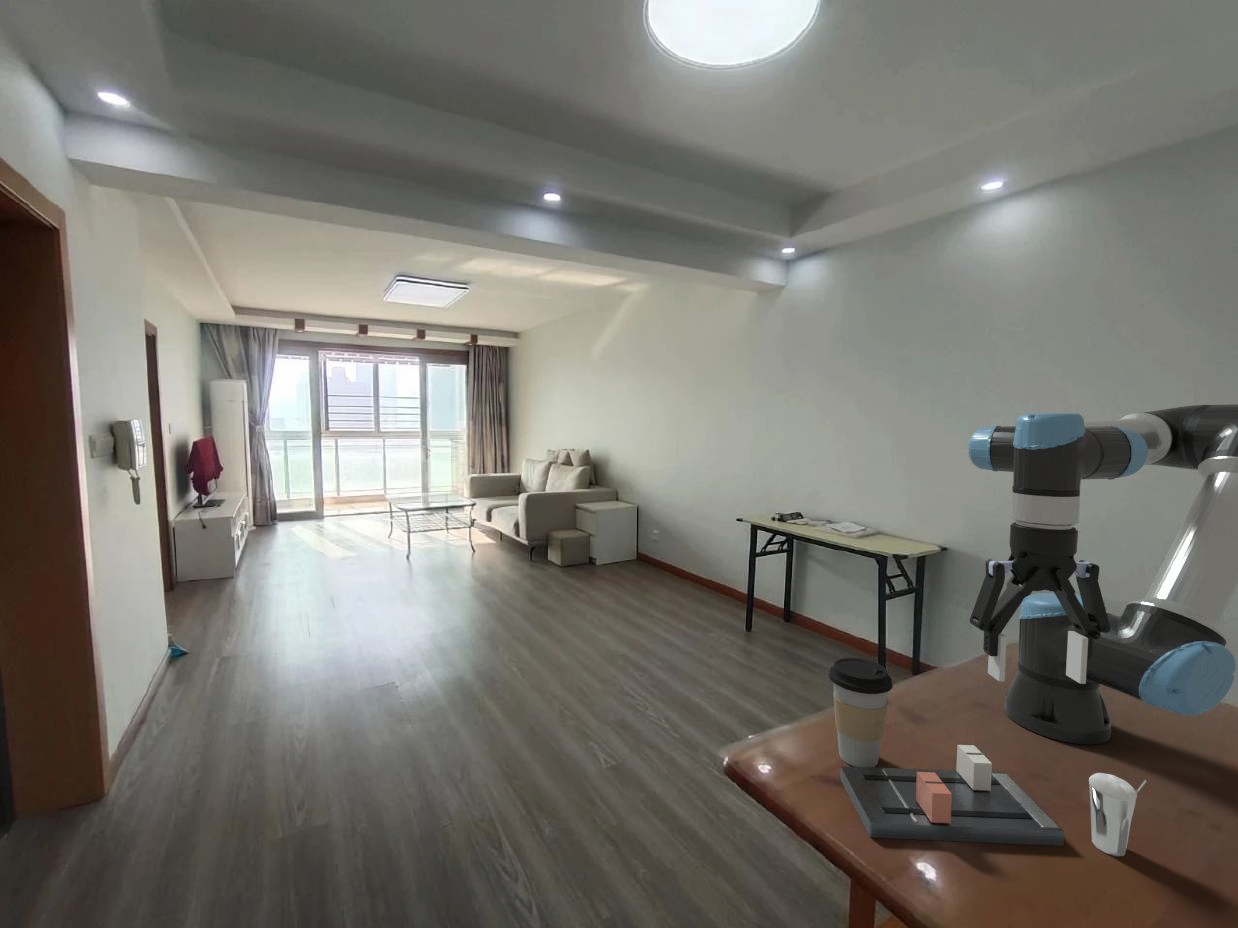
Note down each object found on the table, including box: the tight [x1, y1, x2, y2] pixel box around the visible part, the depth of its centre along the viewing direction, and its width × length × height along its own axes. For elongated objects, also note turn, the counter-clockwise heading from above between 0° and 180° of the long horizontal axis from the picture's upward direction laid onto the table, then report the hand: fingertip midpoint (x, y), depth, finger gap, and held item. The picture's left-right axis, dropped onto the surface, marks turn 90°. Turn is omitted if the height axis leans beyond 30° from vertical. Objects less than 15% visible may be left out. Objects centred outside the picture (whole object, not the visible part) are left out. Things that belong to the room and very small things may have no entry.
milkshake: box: [1088, 772, 1147, 857], centre depth 70 cm, size 4×5×10 cm
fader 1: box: [916, 772, 952, 823], centre depth 74 cm, size 2×4×4 cm, turn 176°
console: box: [839, 765, 1065, 847], centre depth 78 cm, size 24×12×2 cm, turn 86°
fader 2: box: [955, 744, 993, 791], centre depth 81 cm, size 2×4×4 cm, turn 176°
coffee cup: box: [828, 657, 894, 768], centre depth 89 cm, size 9×9×15 cm
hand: (1035, 678), depth 79 cm, fingers open, 10 cm apart
